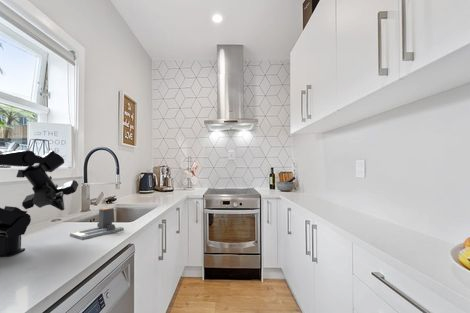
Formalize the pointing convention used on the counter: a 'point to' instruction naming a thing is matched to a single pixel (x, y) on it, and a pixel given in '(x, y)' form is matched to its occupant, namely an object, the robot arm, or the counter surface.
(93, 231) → the breaker panel
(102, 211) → the handle
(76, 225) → the counter surface
